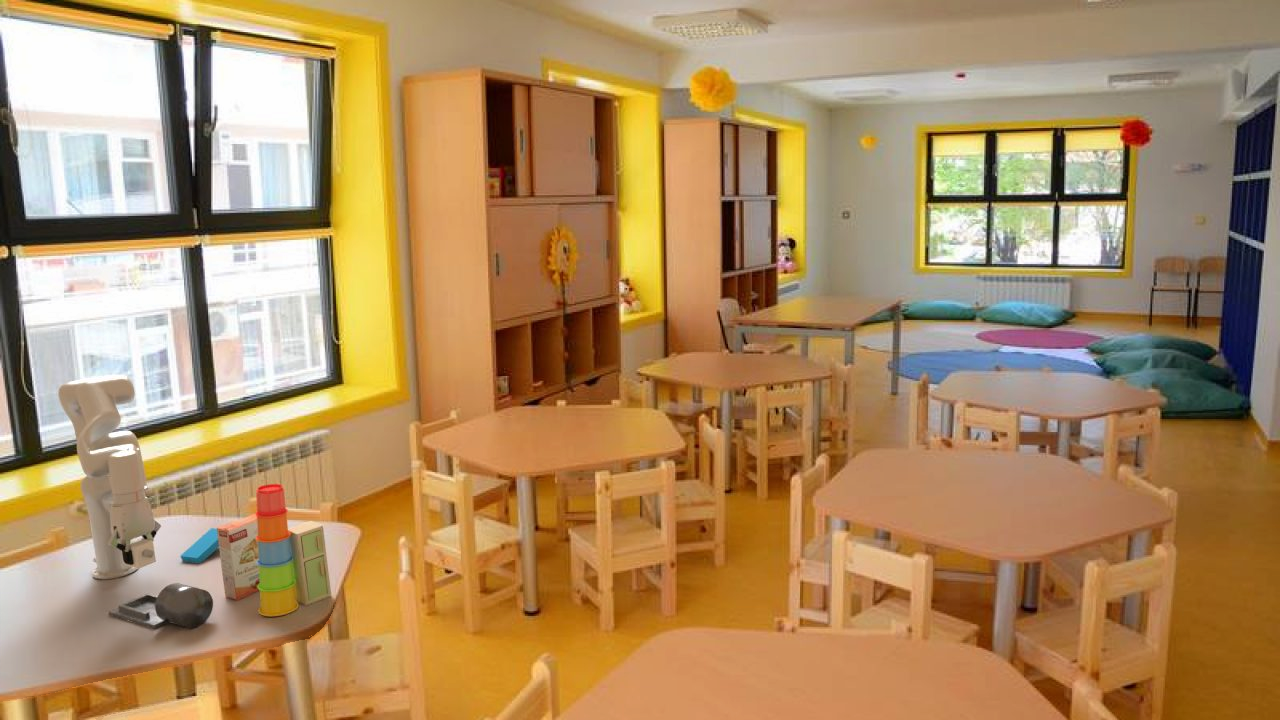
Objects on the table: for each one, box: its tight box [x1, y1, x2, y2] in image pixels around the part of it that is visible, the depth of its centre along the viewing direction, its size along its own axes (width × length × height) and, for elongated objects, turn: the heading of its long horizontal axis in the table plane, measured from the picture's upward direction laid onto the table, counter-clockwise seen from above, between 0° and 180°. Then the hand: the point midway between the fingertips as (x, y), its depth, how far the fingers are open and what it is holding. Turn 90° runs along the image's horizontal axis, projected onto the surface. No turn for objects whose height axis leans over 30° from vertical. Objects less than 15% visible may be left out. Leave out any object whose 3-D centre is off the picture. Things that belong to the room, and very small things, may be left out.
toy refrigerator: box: [288, 520, 332, 606], centre depth 267 cm, size 8×7×21 cm
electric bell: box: [108, 582, 214, 630], centre depth 262 cm, size 30×12×10 cm, turn 61°
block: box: [121, 537, 157, 569], centre depth 262 cm, size 9×5×6 cm, turn 61°
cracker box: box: [216, 513, 260, 601], centre depth 275 cm, size 14×6×21 cm, turn 148°
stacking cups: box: [254, 483, 300, 617], centre depth 260 cm, size 10×10×35 cm
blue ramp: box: [180, 527, 219, 564], centre depth 308 cm, size 7×7×18 cm
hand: (138, 559), depth 263 cm, fingers closed on block, 5 cm apart
